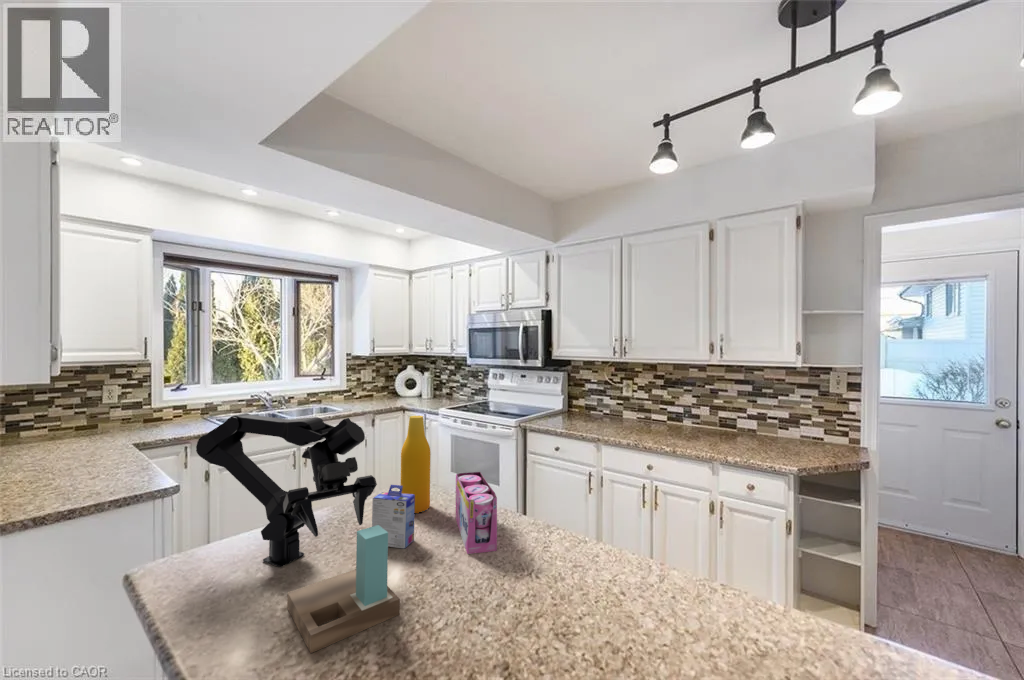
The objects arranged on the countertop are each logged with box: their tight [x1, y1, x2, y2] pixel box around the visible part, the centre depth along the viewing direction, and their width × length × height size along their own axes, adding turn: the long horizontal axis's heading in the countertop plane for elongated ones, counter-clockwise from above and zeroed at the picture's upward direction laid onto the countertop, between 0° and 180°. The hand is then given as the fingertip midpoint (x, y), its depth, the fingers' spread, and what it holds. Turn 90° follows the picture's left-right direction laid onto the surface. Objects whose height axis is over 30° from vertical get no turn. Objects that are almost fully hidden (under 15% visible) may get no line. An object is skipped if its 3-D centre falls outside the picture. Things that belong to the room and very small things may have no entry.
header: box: [286, 568, 401, 654], centre depth 82 cm, size 16×16×3 cm
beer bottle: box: [400, 415, 432, 514], centre depth 133 cm, size 9×9×29 cm
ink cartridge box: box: [371, 484, 415, 549], centre depth 111 cm, size 10×6×14 cm, turn 78°
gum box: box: [455, 471, 498, 555], centre depth 116 cm, size 24×8×14 cm, turn 15°
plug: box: [355, 525, 389, 606], centre depth 82 cm, size 4×4×12 cm
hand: (339, 529), depth 90 cm, fingers open, 9 cm apart
